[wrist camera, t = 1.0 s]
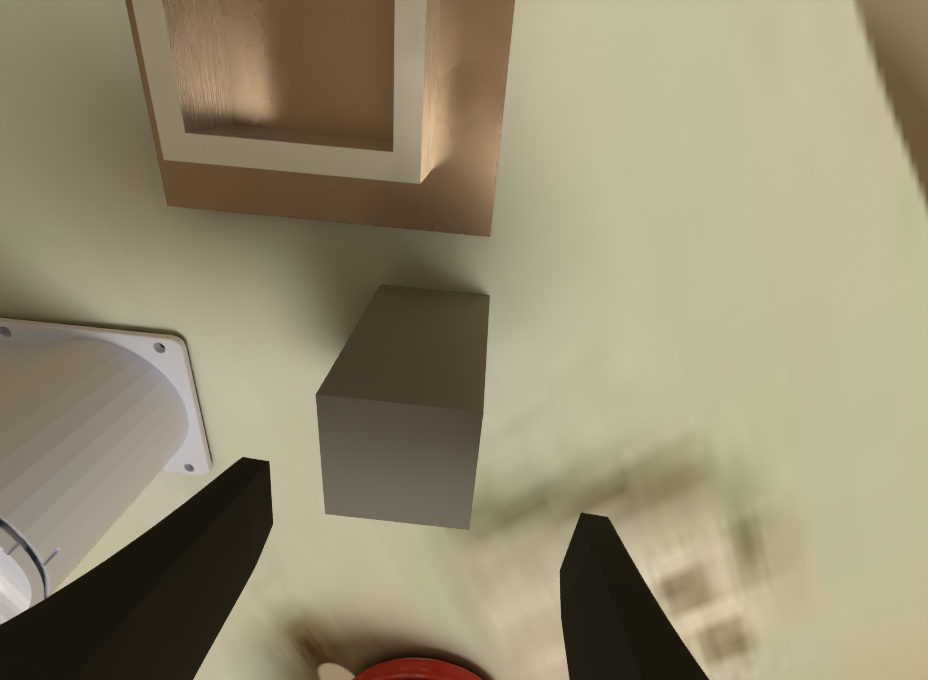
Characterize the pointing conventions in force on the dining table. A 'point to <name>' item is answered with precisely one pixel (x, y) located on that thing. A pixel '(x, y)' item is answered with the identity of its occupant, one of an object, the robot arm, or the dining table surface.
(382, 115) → the duct collar
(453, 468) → the block
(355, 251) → the dining table surface
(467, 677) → the plant pot
